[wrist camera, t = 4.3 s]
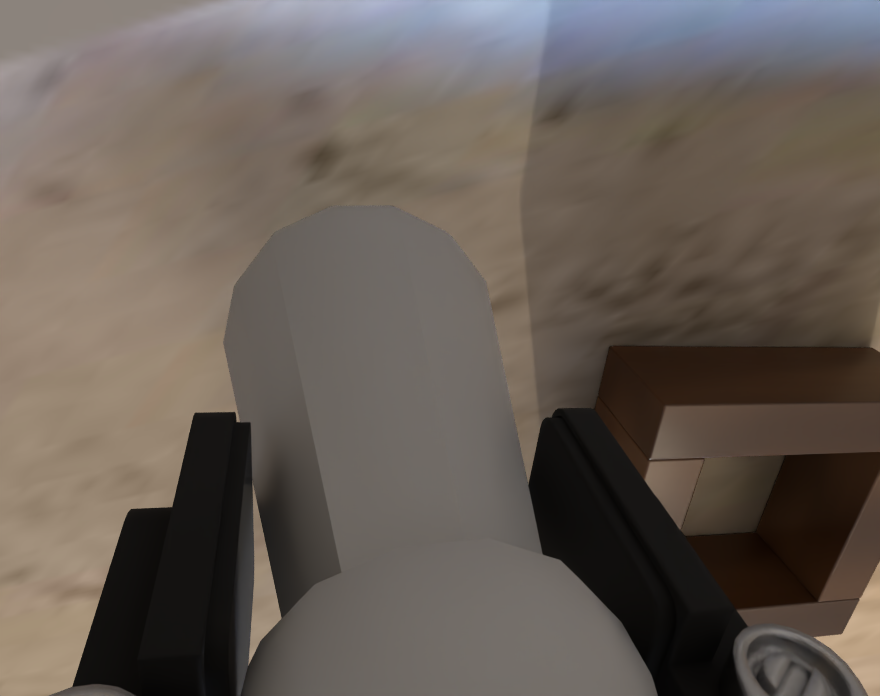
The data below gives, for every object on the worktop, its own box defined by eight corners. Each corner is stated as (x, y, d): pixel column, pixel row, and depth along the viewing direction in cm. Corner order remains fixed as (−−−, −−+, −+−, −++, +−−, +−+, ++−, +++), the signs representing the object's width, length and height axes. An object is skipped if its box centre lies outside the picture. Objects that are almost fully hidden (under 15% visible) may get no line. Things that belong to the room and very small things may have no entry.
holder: (608, 345, 24) (664, 405, 20) (872, 346, 26) (962, 400, 23) (553, 580, 28) (590, 661, 25) (779, 562, 31) (842, 635, 27)
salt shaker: (304, 424, 18) (318, 1113, 7) (186, 243, 16) (-98, 924, 4) (500, 334, 18) (825, 899, 7) (416, 135, 15) (745, 553, 4)
